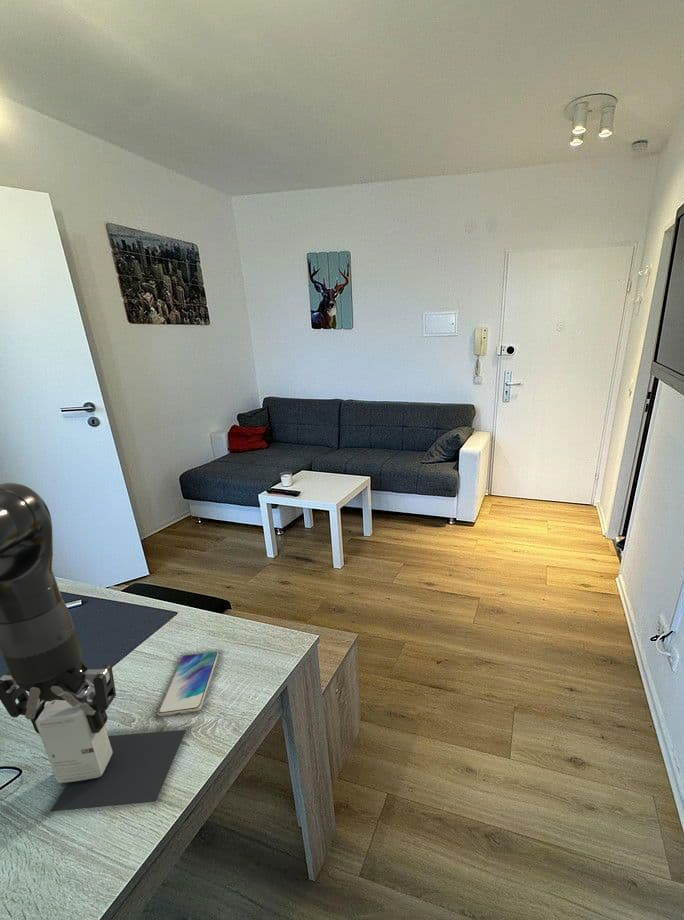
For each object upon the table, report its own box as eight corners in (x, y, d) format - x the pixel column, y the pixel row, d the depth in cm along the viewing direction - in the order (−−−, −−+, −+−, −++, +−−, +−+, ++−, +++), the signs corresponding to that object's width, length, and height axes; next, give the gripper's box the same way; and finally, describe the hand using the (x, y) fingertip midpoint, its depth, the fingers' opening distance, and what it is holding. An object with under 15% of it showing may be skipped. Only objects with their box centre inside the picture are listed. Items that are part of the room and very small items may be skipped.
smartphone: (155, 714, 74) (181, 655, 88) (157, 718, 75) (182, 658, 88) (200, 708, 76) (219, 650, 89) (201, 712, 76) (219, 654, 90)
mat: (50, 813, 60) (49, 811, 60) (98, 738, 71) (97, 736, 71) (156, 803, 61) (155, 801, 61) (186, 731, 72) (186, 729, 72)
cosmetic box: (56, 785, 63) (30, 723, 58) (72, 757, 67) (48, 698, 62) (104, 777, 64) (81, 716, 59) (116, 750, 68) (96, 691, 63)
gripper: (112, 615, 60) (138, 705, 67) (0, 621, 59) (38, 713, 65) (80, 652, 53) (113, 749, 60) (-48, 659, 52) (0, 758, 58)
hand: (74, 729), depth 62 cm, fingers closed on cosmetic box, 6 cm apart
